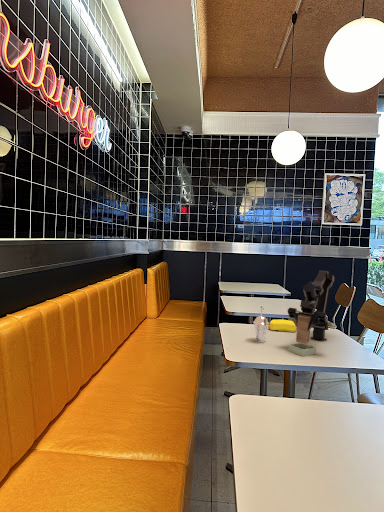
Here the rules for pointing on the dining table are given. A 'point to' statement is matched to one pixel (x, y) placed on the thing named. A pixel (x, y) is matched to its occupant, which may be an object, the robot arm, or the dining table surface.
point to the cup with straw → (260, 327)
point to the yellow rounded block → (282, 325)
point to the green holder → (302, 349)
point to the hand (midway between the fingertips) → (302, 329)
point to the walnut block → (303, 329)
